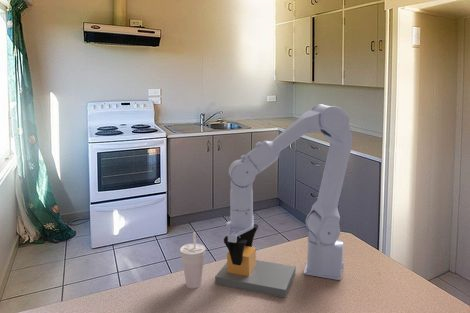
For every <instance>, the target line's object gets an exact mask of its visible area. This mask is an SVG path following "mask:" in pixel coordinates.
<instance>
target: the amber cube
mask: <svg viewBox="0 0 470 313" xmlns="http://www.w3.org/2000/svg"><path fill="white" fill-rule="evenodd" d="M256 249H257V248H256V247H254V246H252V247H249V246H245V247H244V251H243V258H242V263H241V265H234V264H233V263H232V260H231V256H230V253H229V251H227V253H226V260H227V261H226V263H227V272H228V273H234V274H239V275H245V276H249V275H250V274H251V272H252V271H253V269H254V267H255V266H256V260H257V259H256V256H257V253H256V251H257V250H256Z"/></svg>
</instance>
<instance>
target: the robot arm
mask: <svg viewBox="0 0 470 313" xmlns="http://www.w3.org/2000/svg"><path fill="white" fill-rule="evenodd" d="M351 130H352V129H351V127H350V116H349V115H348V114H347V113H346V111H345V110H343V108H341V107H340V106H336V105H332V106H330V105H326V104H323V103H320V104H316V105H314V106H313V107H312V108H311V109H309V110H307V111H305V112H304V113H303V114H302V115H301V116H300V117H299V118H297V119H296V120H295V121H294V122H293V123H291V124H290V125H289V126H287V128H285V129H284V130H283V131H282V132H281V133H280V134H278V135H277V136H276V137H274V138H273V140H262V141H258V142H256V143H255V147H254V148H252V149H251V150H250V151H249V152H247V153H246V154H242V155H241V156H240V159H236V160H234V161H233V162H231V163H230V165H229V167H228V170H227V173H228V176H229V177H230V190H229V200H230V201H229V205H230V206H229V207H230V208H229V209H230V210H229V212H230V214H229V215H230V220H228V221H227V222H226V223H225V226H226V227H229V231H228V233H227V235H225V237H224V238H223V243H224V245H225V246H226V247H227V250H228V252H229V253H230V256H231V260H232V263H233V264H234V265H241V263H242V258H243V251H244V247H245V246H249V247H253V242H254V240H255V235H256V233H257V230H258V228H259V224H256V223H254V222H255V216H254V208H253V207H254V196H253V195H254V190H253V183H254V181H255V180H256V176H257V175H259V174H261V172H263V171H265V169H267V168H269V166H271V165H273V164H274V163H275V162H276V161H278V159H279V157H280V153H281V151H283V150H284V149H285V148H287V147H289V146H290V145H291V144H293V143H294V142H296V141H297V140H298V139H300V138H302V137H303V136H305V135H306V134H313V133H315V134H317V133H321V134H323V135H324V137H325V139H326V140H327V142H329V145H328V146H329V147H328V151H327V156H326V160H325V165H324V168H323V173H322V178H321V183H320V185H319V186H320V187H319V191H318V195H317V199H316V201H315V202H314V203H313V204H312V206H311V209H310V212H309V213H308V214H307V216H306V218H305V226H306V227H307V229H308V230H309V231H308V235H307V251H306V252H307V257H306V265H305V267H304V270H303V272H302V274H304V275H308V276H313V277H320V278H324V279H325V278H326V279H329V280H335V281H341V279H342V273H343V270H344V266H345V264H344V263H345V262H344V250H345V249H344V248H345V246H344V245H345V243H344V241H342V240H339V238H340V235H341V227H340V221H341V216H340V212H339V209H338V205H339V203H340V202H339V201H340V197H341V192H342V190H343V185H344V180H345V177H346V172H347V169H348V163H349V160H350V156H351V151H352V146H353V142H354V141H353V140H354V138H353V135H352V131H351Z"/></svg>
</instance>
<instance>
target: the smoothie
mask: <svg viewBox="0 0 470 313" xmlns="http://www.w3.org/2000/svg"><path fill="white" fill-rule="evenodd" d="M196 235H197V234H196V231H193V234H192V237H193V238H192V241H193V243H192V242H191V243H187V244H184V245H182V246H181V247H180V248H179V255H180V256H181V261H182V267H183V274H184V279H185V284H186V287H187V288H188V289H198V288H199V287H201V286H202V278H203V268H204V261H205V260H204V259H205V254H206V252H207V251H206V247H205V246H204V245H203V244H201V243H197V240H196V238H197V237H196Z"/></svg>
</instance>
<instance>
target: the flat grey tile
mask: <svg viewBox="0 0 470 313" xmlns="http://www.w3.org/2000/svg"><path fill="white" fill-rule="evenodd" d="M296 268H297V267H296V266H295V265H289V264H281V263H277V262H269V261H264V260H257V259H256V266H255V267H254V269H253V271H252V272H251V274H250V275H249V276H245V275H239V274H234V273H228V272H227V262H225V264H224V265H223V266H222V267H221V269H220V270H219V271H218V273H217V274H216V275H215V276H214V284H215V285H219V286H224V287H229V288H233V289H239V290H243V291H248V292H249V291H250V292H254V293H260V294H265V295H270V296H276V297H280V298H286V297H287V295H288V293H289V290H290V287H291V286H292V283H293V281H294V278H295V275H296V271H297V269H296Z"/></svg>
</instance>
